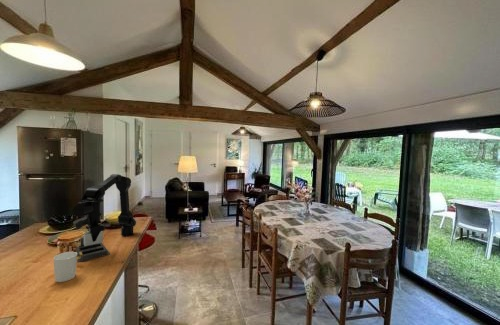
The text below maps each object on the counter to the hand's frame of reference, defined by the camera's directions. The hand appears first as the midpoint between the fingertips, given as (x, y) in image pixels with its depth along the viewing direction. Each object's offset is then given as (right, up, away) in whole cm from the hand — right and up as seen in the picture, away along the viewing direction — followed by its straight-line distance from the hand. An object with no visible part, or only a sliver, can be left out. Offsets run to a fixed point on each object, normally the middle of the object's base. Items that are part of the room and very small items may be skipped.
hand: (93, 240), depth 117 cm
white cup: (+3, -9, -21) cm, 23 cm away
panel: (0, -2, 0) cm, 2 cm away
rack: (-5, -8, +5) cm, 10 cm away
